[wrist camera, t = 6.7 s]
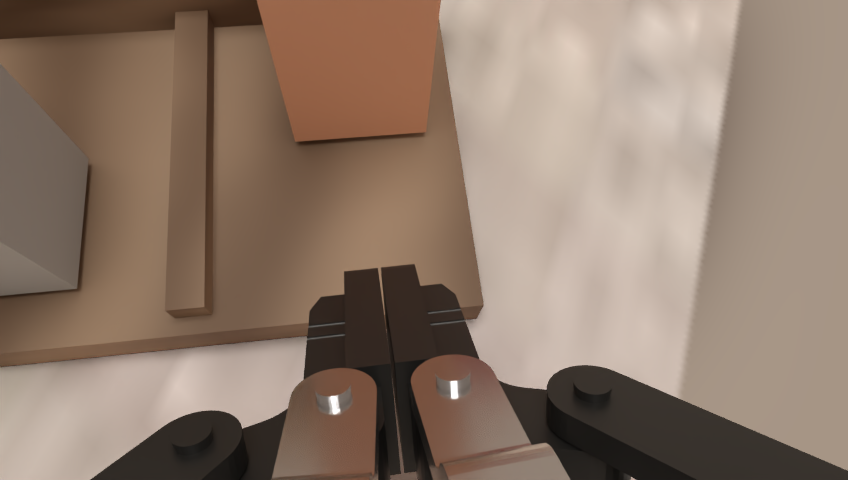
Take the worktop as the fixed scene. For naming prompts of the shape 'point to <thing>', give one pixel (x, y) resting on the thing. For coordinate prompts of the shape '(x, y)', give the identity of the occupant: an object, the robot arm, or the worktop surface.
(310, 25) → the orange block
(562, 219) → the worktop surface
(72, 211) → the grey rectangular block
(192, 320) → the wooden divided tray
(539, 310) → the worktop surface
